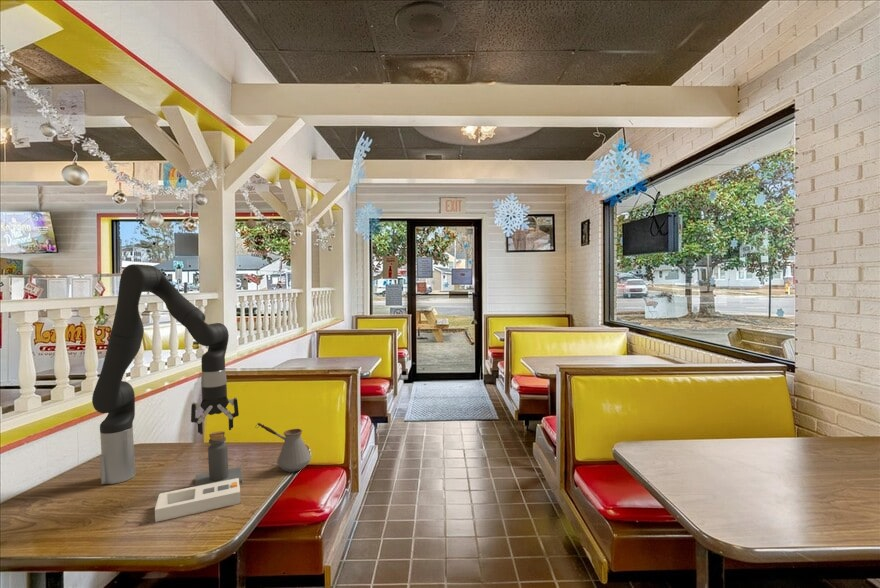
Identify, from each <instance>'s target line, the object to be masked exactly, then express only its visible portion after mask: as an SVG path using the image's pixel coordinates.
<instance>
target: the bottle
mask: <svg viewBox="0 0 880 588" xmlns="http://www.w3.org/2000/svg"><path fill="white" fill-rule="evenodd" d="M225 433H226V432H225V431H223V430H222V431H219V430H218V431H213V432H211V433H209V435H208V436H209V439H208V444H210V445H209V446H208V448H207V459H208V473H209V479H210V480H211V481H220V480H223V479H226V478H227V477H228V476H229V473H228V469H229V455H228V454H229V453H228V444H227V443H225V442H226V440H227V438H226V436H225Z"/></svg>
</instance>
